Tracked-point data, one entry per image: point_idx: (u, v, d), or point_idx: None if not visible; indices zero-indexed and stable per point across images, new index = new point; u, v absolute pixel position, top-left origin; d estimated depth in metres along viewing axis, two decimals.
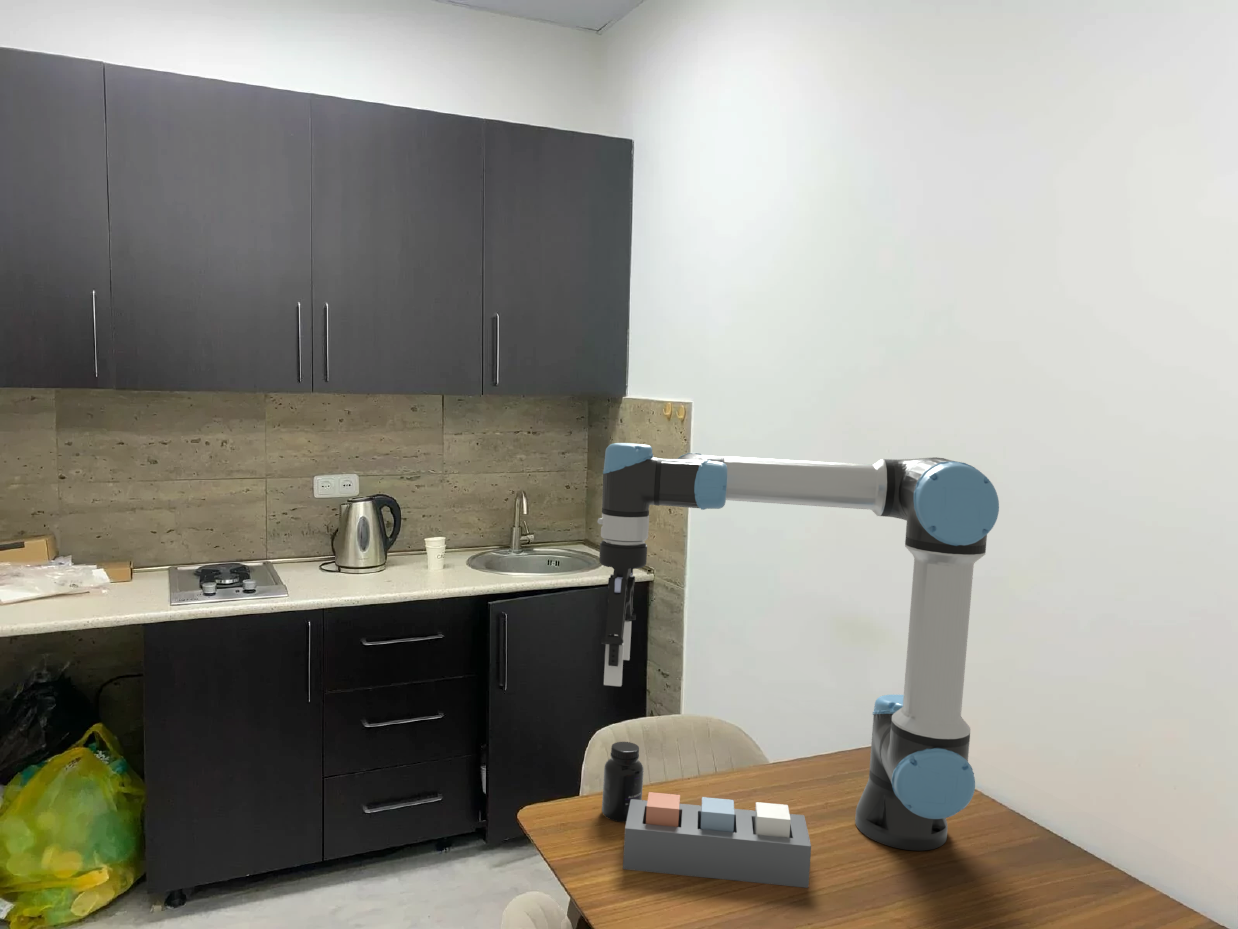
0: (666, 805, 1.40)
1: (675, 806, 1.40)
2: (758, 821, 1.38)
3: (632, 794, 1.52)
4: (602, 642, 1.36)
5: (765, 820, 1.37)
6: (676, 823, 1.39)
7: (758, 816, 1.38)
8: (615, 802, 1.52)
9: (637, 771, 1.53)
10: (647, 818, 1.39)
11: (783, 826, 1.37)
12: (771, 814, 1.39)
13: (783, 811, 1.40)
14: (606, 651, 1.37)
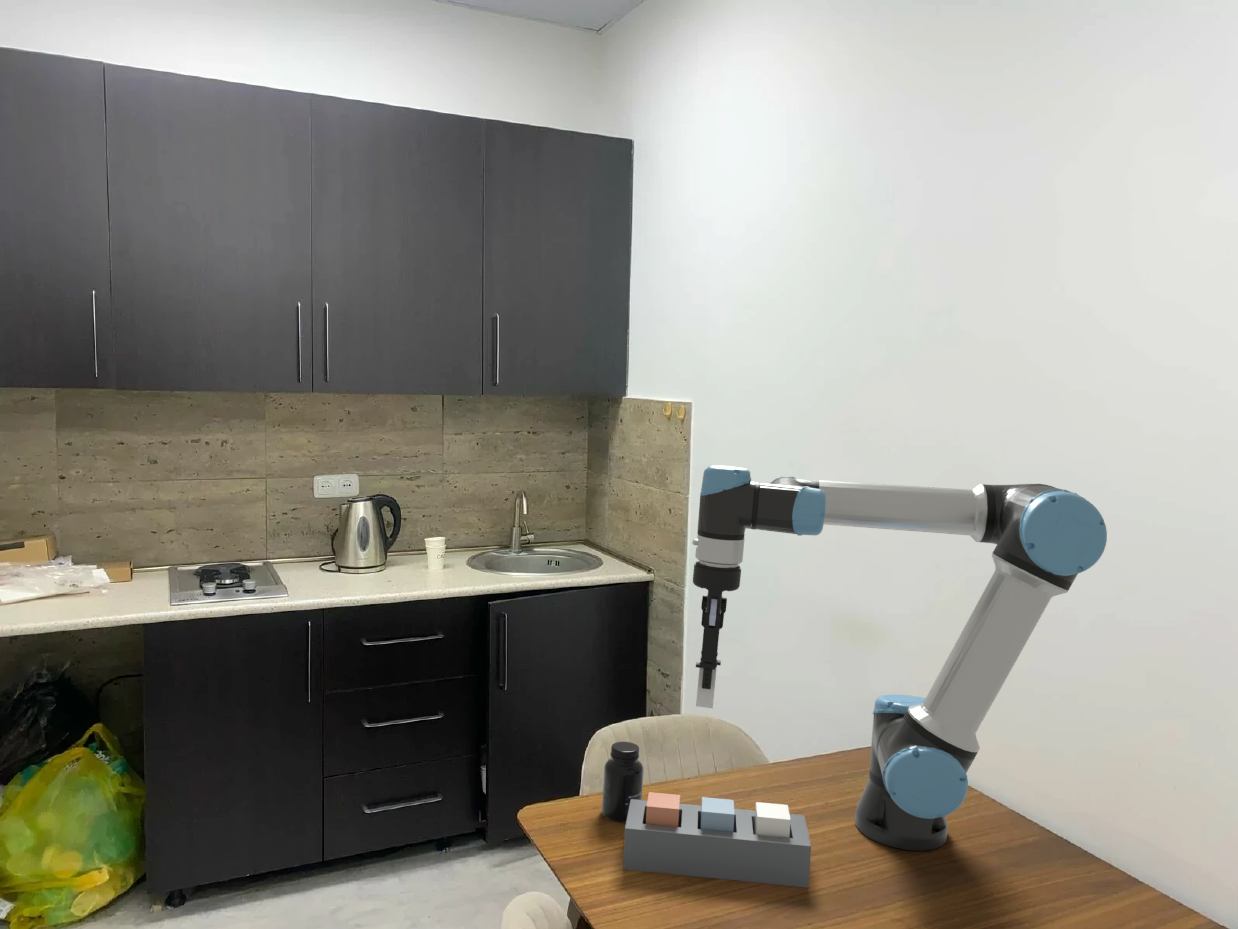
0: (666, 805, 1.40)
1: (675, 806, 1.40)
2: (758, 821, 1.38)
3: (632, 794, 1.52)
4: (697, 667, 1.44)
5: (765, 820, 1.37)
6: (676, 823, 1.39)
7: (758, 816, 1.38)
8: (615, 802, 1.52)
9: (637, 771, 1.53)
10: (647, 818, 1.39)
11: (783, 826, 1.37)
12: (771, 814, 1.39)
13: (783, 811, 1.40)
14: (699, 674, 1.45)
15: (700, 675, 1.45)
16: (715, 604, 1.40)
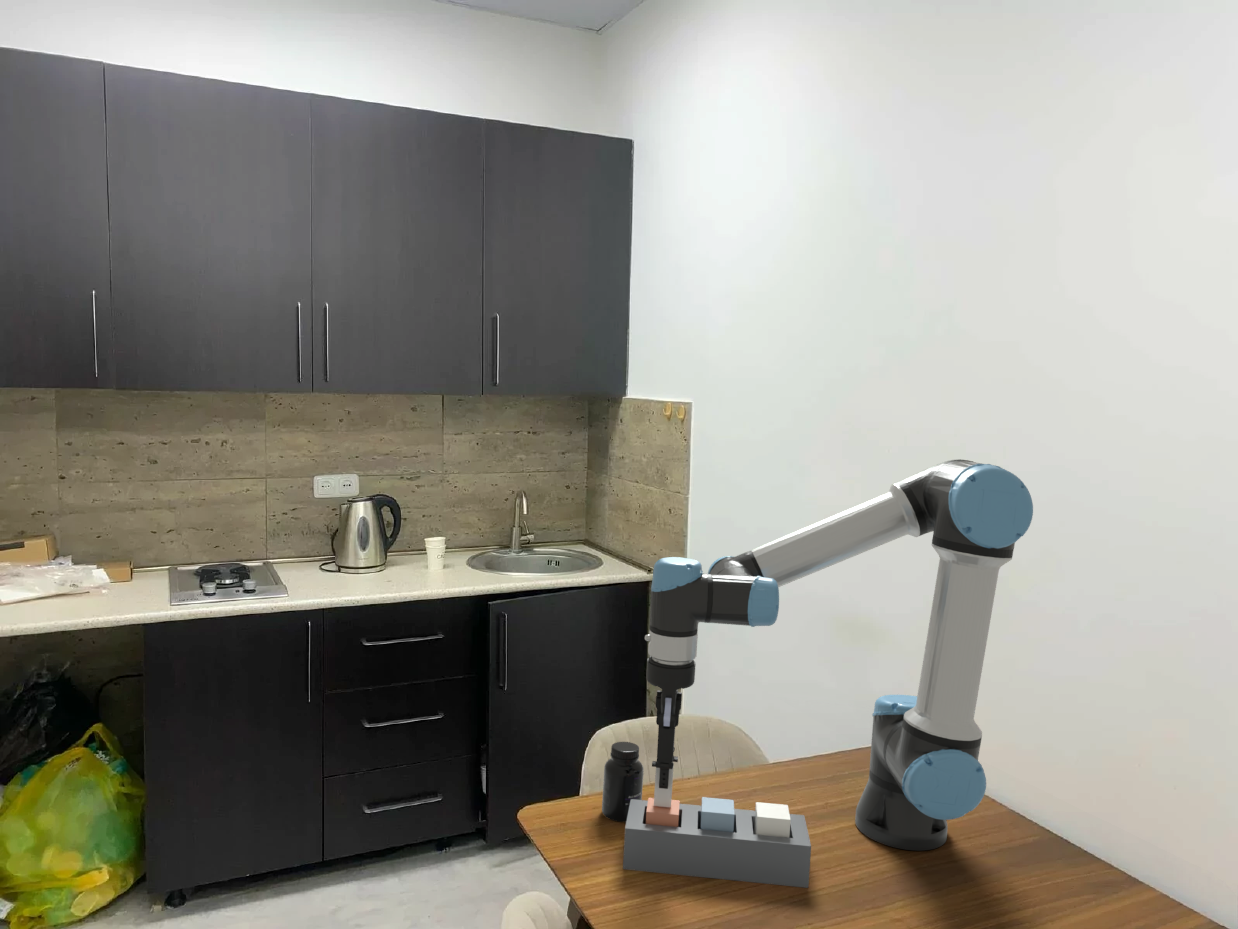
0: (665, 811, 1.40)
1: (675, 812, 1.40)
2: (758, 821, 1.38)
3: (632, 794, 1.52)
4: (653, 766, 1.40)
5: (765, 820, 1.37)
6: None
7: (758, 816, 1.38)
8: (615, 802, 1.52)
9: (637, 771, 1.53)
10: None
11: (783, 826, 1.37)
12: (771, 814, 1.39)
13: (783, 811, 1.40)
14: (656, 773, 1.40)
15: (657, 774, 1.40)
16: (669, 703, 1.36)
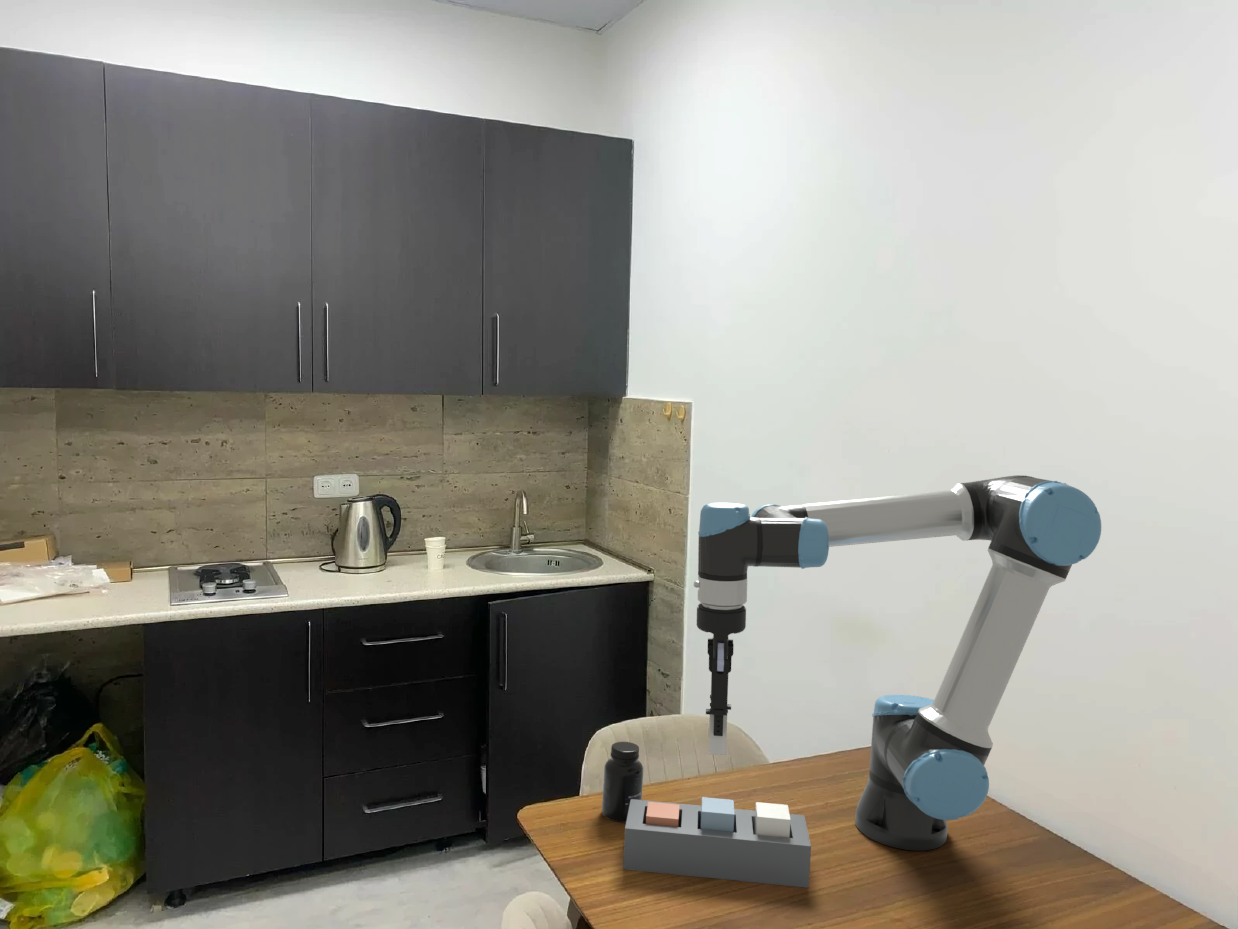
0: (665, 815, 1.40)
1: (675, 816, 1.40)
2: (758, 821, 1.38)
3: (632, 794, 1.52)
4: None
5: (765, 820, 1.37)
6: None
7: (758, 816, 1.38)
8: (615, 802, 1.52)
9: (637, 771, 1.53)
10: None
11: (783, 826, 1.37)
12: (771, 814, 1.39)
13: (783, 811, 1.40)
14: (710, 721, 1.39)
15: (711, 722, 1.39)
16: (722, 648, 1.35)
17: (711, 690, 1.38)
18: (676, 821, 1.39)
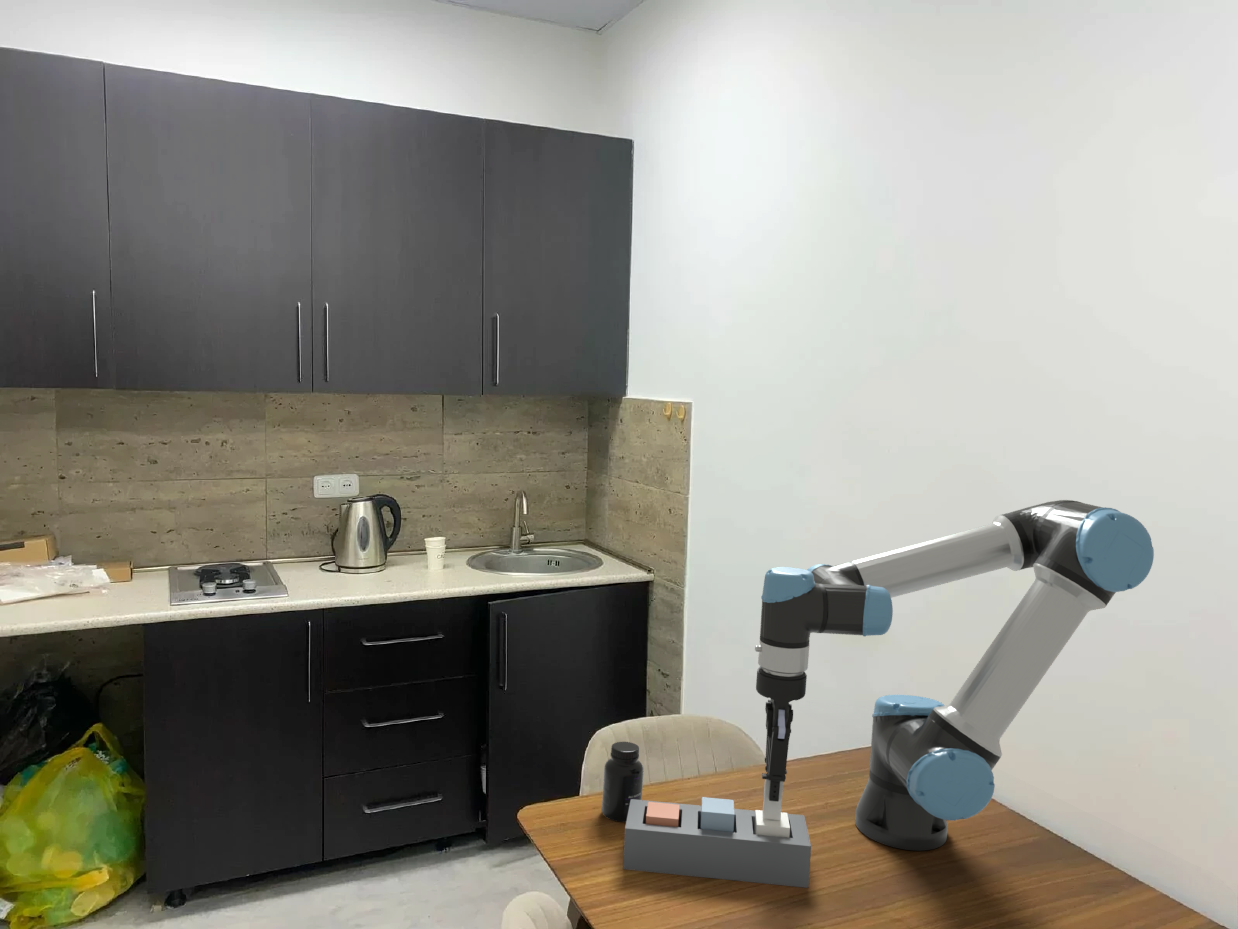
0: (665, 815, 1.40)
1: (675, 816, 1.40)
2: (757, 829, 1.38)
3: (632, 794, 1.52)
4: (763, 778, 1.38)
5: (765, 828, 1.38)
6: None
7: (757, 824, 1.38)
8: (615, 802, 1.52)
9: (637, 771, 1.53)
10: None
11: (782, 835, 1.37)
12: (770, 822, 1.39)
13: (783, 819, 1.40)
14: (766, 785, 1.39)
15: (767, 786, 1.39)
16: (783, 715, 1.34)
17: (769, 755, 1.37)
18: (676, 821, 1.39)
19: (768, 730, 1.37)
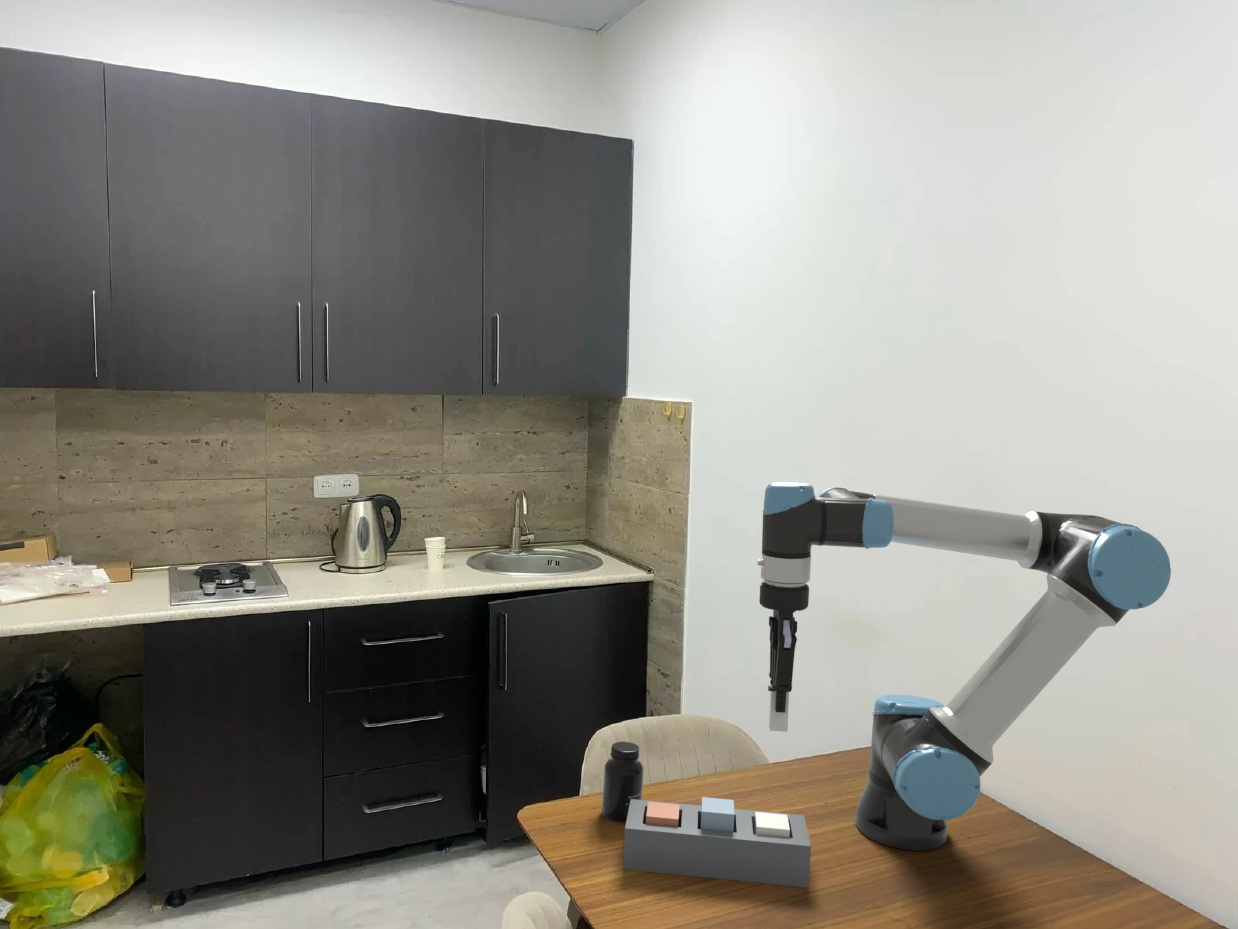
0: (665, 815, 1.40)
1: (675, 816, 1.40)
2: (757, 831, 1.38)
3: (632, 794, 1.52)
4: (769, 690, 1.40)
5: (764, 830, 1.38)
6: None
7: (757, 826, 1.38)
8: (615, 802, 1.52)
9: (637, 771, 1.53)
10: None
11: None
12: (770, 824, 1.39)
13: (782, 821, 1.40)
14: (772, 698, 1.41)
15: (773, 698, 1.41)
16: (788, 625, 1.36)
17: (774, 667, 1.39)
18: (676, 821, 1.39)
19: (773, 642, 1.39)
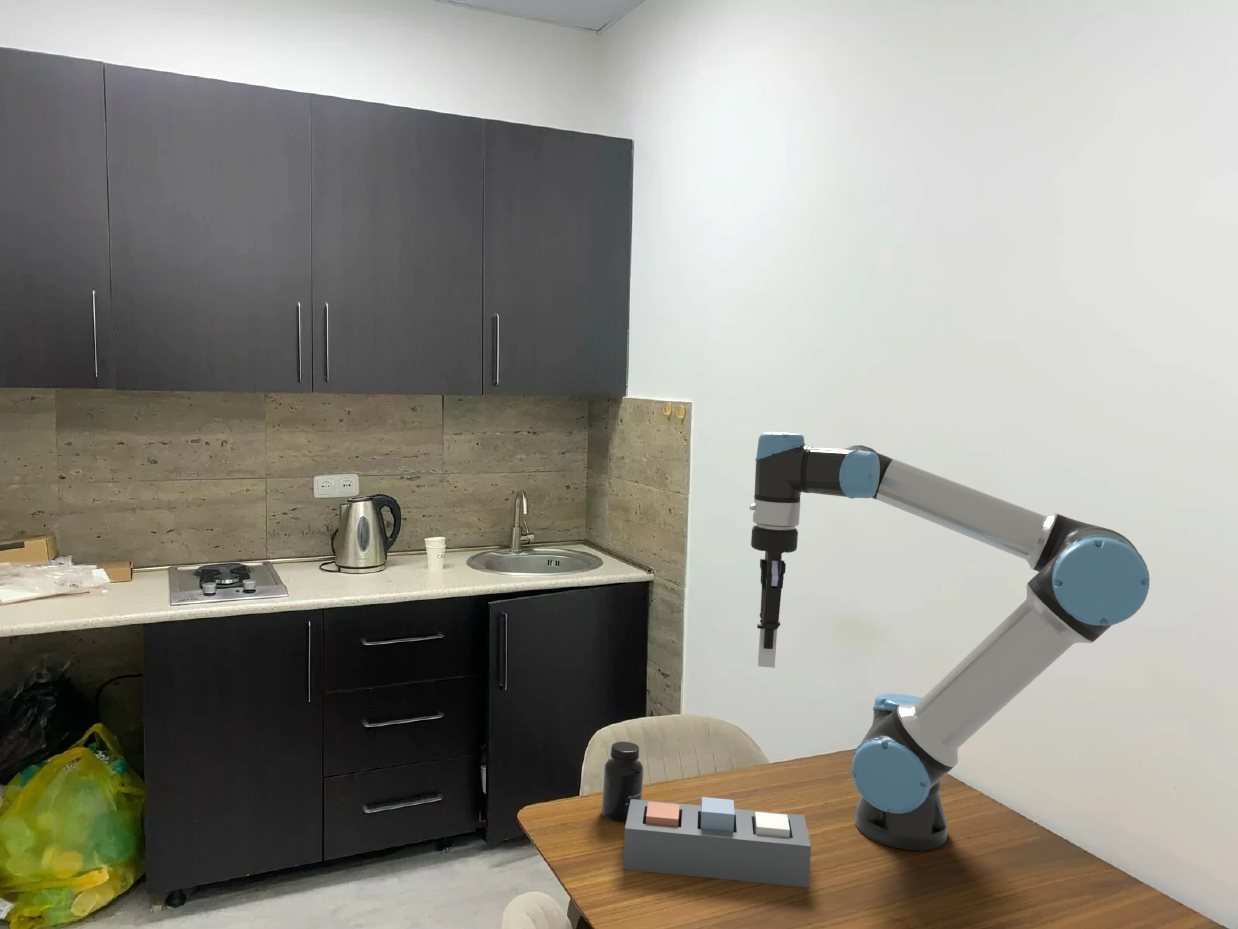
0: (665, 815, 1.40)
1: (675, 816, 1.40)
2: (757, 831, 1.38)
3: (632, 794, 1.52)
4: None
5: (764, 830, 1.38)
6: None
7: (757, 826, 1.38)
8: (615, 802, 1.52)
9: (637, 771, 1.53)
10: None
11: None
12: (770, 824, 1.39)
13: (782, 821, 1.40)
14: (761, 635, 1.49)
15: (761, 636, 1.49)
16: (776, 565, 1.45)
17: (763, 605, 1.48)
18: (676, 821, 1.39)
19: (762, 582, 1.47)
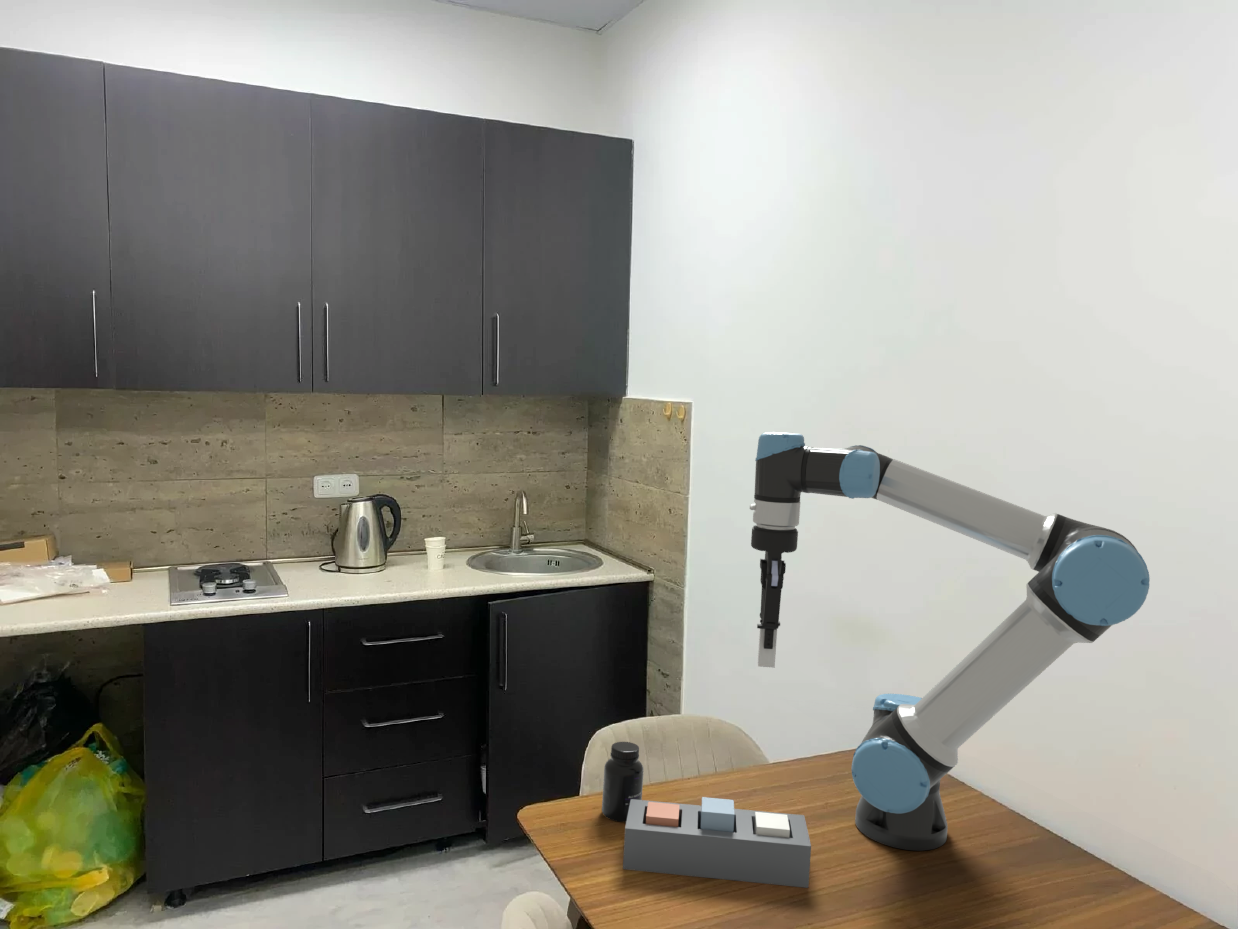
0: (665, 815, 1.40)
1: (675, 816, 1.40)
2: (757, 831, 1.38)
3: (632, 794, 1.52)
4: None
5: (764, 830, 1.38)
6: None
7: (757, 826, 1.38)
8: (615, 802, 1.52)
9: (637, 771, 1.53)
10: None
11: None
12: (770, 824, 1.39)
13: (782, 821, 1.40)
14: (761, 635, 1.49)
15: (761, 636, 1.49)
16: (776, 565, 1.45)
17: (763, 605, 1.48)
18: (676, 821, 1.39)
19: (762, 582, 1.47)
